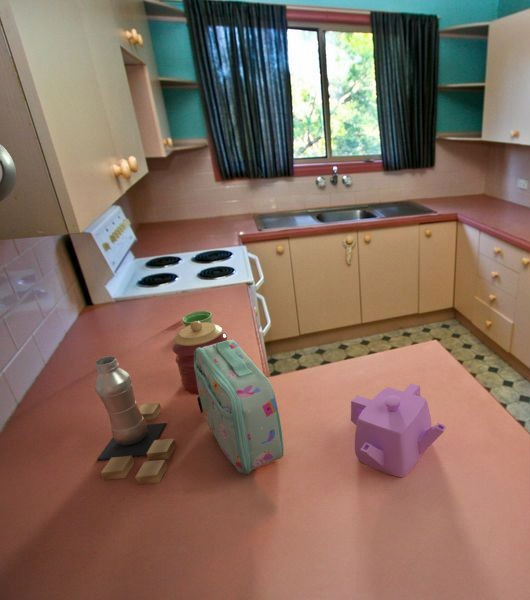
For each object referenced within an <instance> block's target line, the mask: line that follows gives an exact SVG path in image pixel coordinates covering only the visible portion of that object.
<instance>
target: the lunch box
mask: <svg viewBox="0 0 530 600" xmlns="http://www.w3.org/2000/svg"><path fill="white" fill-rule="evenodd" d="M194 370H195V374H196V381H197V386H198V392H199V394H198V397H197V399H196V401H197V404H198V408H199V412H200V414H203V415H204V418H205V420H206V423H207V425H208V427H209V430H210V431H211V433H212V434H213V437H214V438H215V439H216V441H217V442H218V446H219V448H220V449H221V450H222V452H223V454H224V455H225V457H226V458H227V460H228V461H229V462H230V463H231V464H232V466H234V468H235V469H236V470H237V471H238V473H240V474H241V475H249V474H250V473H251V472H252V471H254V470H256V469H258V468H260V467H263V466H266V465H267V464H271V463H273V462H275V461H277V460H281V459H282V458H283V456H284V440H283V430H282V424H281V419H280V413H279V407H278V403H277V399H276V395H275V392H274V389H273V385H272V383H271V382H270V380H269V379H268V377H267V376H266V375H265V374H264V372H263V371H262V370H261V369H260V368H259V367H258V365H256V363H254V361H253V360H252V359H251V358H250V357H249V356H248V354H247V353H246V352H245V351H244V350H243V348H242V347H241V346H240V345H239V344H238V342H236V341H235V340H234V339H227V341H223V342H220V343H216V344H213V345H209V346H205V347H203V348H200V347H199V348H197V349H196V350H195V352H194Z"/></svg>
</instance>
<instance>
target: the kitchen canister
mask: <svg viewBox="0 0 530 600" xmlns="http://www.w3.org/2000/svg"><path fill="white" fill-rule="evenodd" d="M227 340H228V334H226V333H225V332H224V331H223V328H222V326H220V325H218V324H215V323H213V322H212V323H207V322H203V323H200V322H199V321H194V322H192V323H191V325H189V326H187V327H185V326H184V327H183V328H182V329H180V330H179V331H178V332H177V333H176V334H175V335H174V337H173V342H174V343H173V345H172V348H171V349H172V352H173V353H174V354H176V356H175V363H176V364H177V368H178V371H179V376H180V382H181V385H182V386H183V388H184V390H185V391H186V392H188V393H190V394H193V395H194V394H196V395H199V392H198V386H197V381H196V374H195V370H194V352H195V350H196V349H197V348H199V347H200V348H203V347H205V346H209V345H213V344H216V343H220V342H223V341H227Z"/></svg>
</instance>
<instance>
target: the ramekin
mask: <svg viewBox="0 0 530 600" xmlns="http://www.w3.org/2000/svg"><path fill="white" fill-rule="evenodd" d="M212 318H213V314H212V312H211V311H208V310H197V311H192V312H190V313H187V314H185V315H184V316H183V317H182V319H181V320H182V323H183V324H184V328H185V327H187V326H189V325H191V323H192V322H194V321H199V322H200V323H203V322H207V323H212V324H213V319H212Z"/></svg>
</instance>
